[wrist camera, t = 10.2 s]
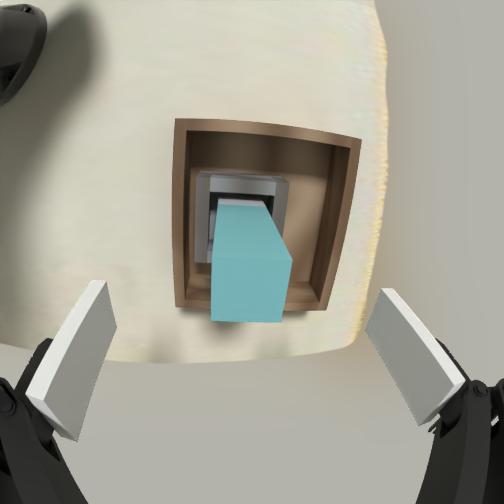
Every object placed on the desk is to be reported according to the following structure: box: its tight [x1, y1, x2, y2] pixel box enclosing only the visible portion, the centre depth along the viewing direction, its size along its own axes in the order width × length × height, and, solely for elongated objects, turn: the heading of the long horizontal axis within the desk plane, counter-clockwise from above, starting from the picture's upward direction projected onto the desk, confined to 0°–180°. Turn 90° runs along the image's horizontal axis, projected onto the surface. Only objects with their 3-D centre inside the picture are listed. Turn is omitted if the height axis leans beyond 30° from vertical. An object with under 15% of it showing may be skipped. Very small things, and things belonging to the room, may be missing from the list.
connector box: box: [172, 118, 362, 311], centre depth 26 cm, size 16×18×5 cm
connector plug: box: [211, 193, 292, 322], centre depth 21 cm, size 4×4×14 cm
